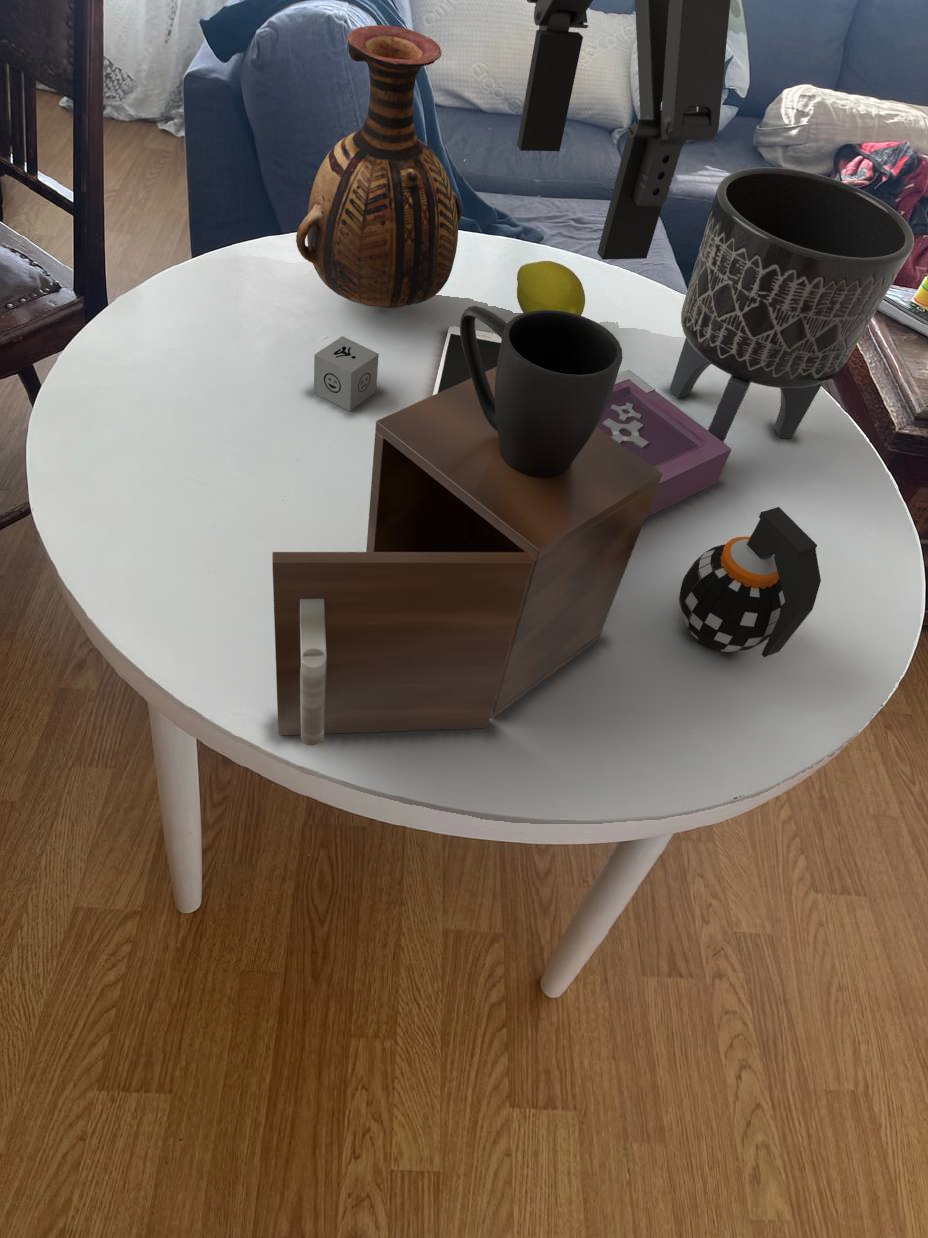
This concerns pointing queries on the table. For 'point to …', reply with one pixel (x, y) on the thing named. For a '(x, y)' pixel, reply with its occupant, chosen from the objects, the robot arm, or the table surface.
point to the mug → (543, 384)
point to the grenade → (752, 587)
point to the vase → (384, 188)
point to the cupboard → (512, 521)
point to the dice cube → (345, 373)
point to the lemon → (549, 288)
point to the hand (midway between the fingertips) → (576, 198)
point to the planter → (785, 286)
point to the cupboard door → (392, 638)
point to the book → (663, 440)
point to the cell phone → (464, 358)
